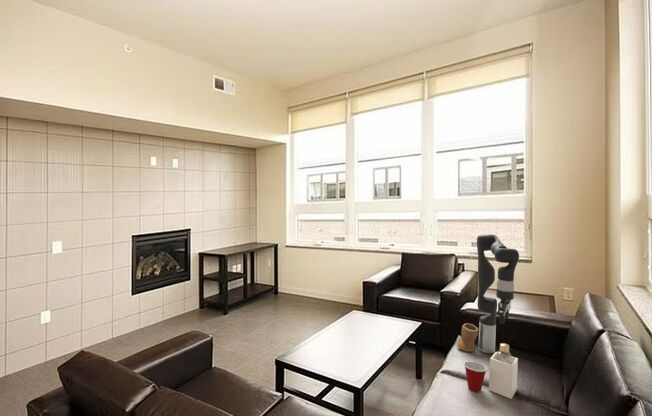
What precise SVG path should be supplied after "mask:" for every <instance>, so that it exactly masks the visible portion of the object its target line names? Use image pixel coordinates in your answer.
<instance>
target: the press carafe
mask: <svg viewBox="0 0 652 416" xmlns="http://www.w3.org/2000/svg"><path fill="white" fill-rule="evenodd" d="M502 358H503V356H500V355H499V354H498V351H495V352H494V353H492V356H490V358H489V376H488V377H489V379H488V391H489V392H492V393H496V394H498V395H500V396H502V397H503V396H504V397H506V398H508V399H510V400H512V399H513V397H514V395H515V393H516V392H517V386H518V364H519V359H518V357H514V356H512V355H511V357H506V363H505V362H502Z"/></svg>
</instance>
